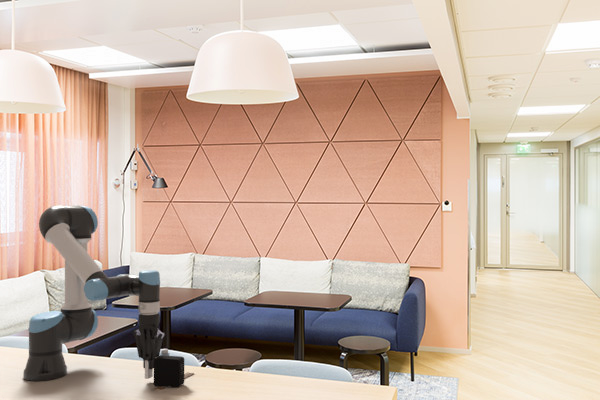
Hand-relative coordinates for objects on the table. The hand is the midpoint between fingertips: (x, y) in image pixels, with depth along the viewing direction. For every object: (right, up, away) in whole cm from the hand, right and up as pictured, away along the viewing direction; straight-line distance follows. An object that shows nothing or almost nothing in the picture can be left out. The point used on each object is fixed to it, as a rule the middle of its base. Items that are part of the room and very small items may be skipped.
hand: (148, 377), depth 204 cm
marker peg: (+3, -2, +12) cm, 12 cm away
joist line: (+9, -2, +1) cm, 9 cm away
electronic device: (+8, -2, -3) cm, 9 cm away
